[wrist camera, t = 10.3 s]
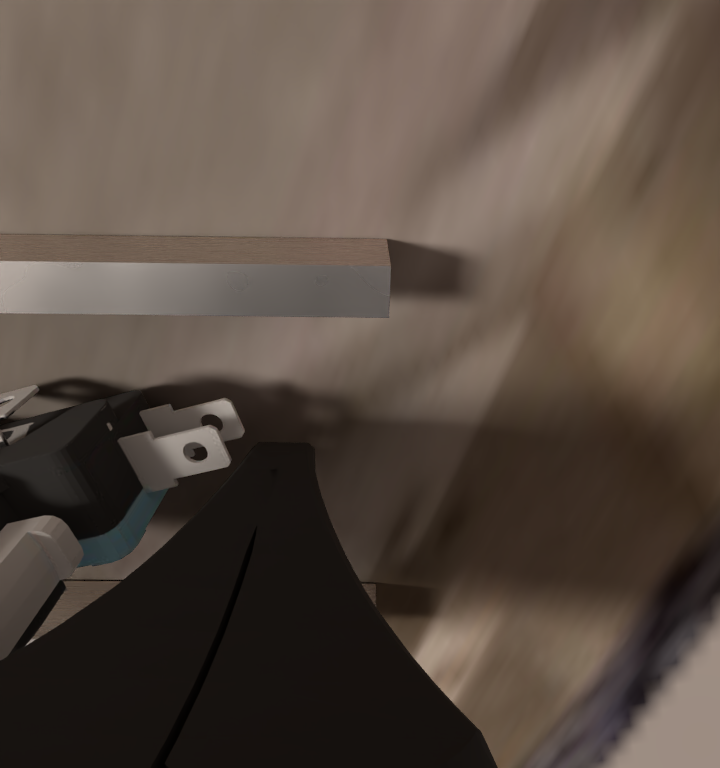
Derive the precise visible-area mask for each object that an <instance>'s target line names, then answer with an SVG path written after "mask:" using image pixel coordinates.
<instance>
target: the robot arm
mask: <svg viewBox="0 0 720 768" xmlns="http://www.w3.org/2000/svg"><path fill="white" fill-rule="evenodd" d="M0 768H498V767H497V765H496V763H495V761H494V759H493V756H492V754H491V752H490V750H489V748H488V745H487V743H486V741H485V739H484V737H483V735H482V733H481V731H480V730H479V729H478V728H477V727H476V726H475V725H474V724H473V723H472V722H471V721H470V720H469V719H468V718H467V717H466V716H465V715H464V714H463V713H462V712H461V711H460V710H459V709H458V708H457V707H456V706H455V705H454V704H453V703H452V701H451V700H450V699H449V698H448V697H447V696H446V695H445V694H444V693H443V692H442V691H441V690H440V688H439V687H438V686H437V685H436V684H435V683H434V682H433V681H432V679H431V678H430V677H429V676H428V675H427V673H426V672H425V671H424V670H423V669H422V668H421V666H420V665H419V664H418V663H417V662H416V660H415V659H414V658H413V657H412V656H411V654H410V653H409V652H408V650H407V649H406V648H405V646H404V645H403V644H402V642H401V641H400V640H399V638H398V637H397V636H396V634H395V633H394V632H393V630H392V629H391V627H390V626H389V625H388V623H387V622H386V621H385V619H384V618H383V617H382V615H381V614H380V612H379V611H378V609H377V608H376V606H375V605H374V603H373V602H372V600H371V598H370V597H369V595H368V594H367V592H366V591H365V589H364V587H363V586H362V584H361V582H360V580H359V579H358V577H357V575H356V573H355V572H354V570H353V568H352V566H351V564H350V562H349V561H348V559H347V557H346V555H345V553H344V551H343V548H342V546H341V544H340V542H339V540H338V538H337V535H336V533H335V531H334V529H333V526H332V524H331V521H330V519H329V516H328V513H327V510H326V508H325V505H324V502H323V499H322V496H321V493H320V490H319V486H318V482H317V478H316V473H315V449H314V448H313V447H312V446H311V445H310V444H309V443H277V442H259V443H258V444H257V445H255V446H254V447H253V448H252V450H251V451H250V452H249V453H248V455H247V456H246V457H245V458H244V460H243V461H242V462H241V463H240V465H239V466H238V467H237V468H236V470H235V471H234V472H233V473H232V474H231V476H230V477H229V478H228V479H227V480H226V481H225V483H224V484H223V485H222V486H221V487H220V488H219V489H218V491H217V492H216V493H215V494H214V495H213V496H212V497H211V498H210V499H209V500H208V502H207V503H206V504H205V505H204V506H203V507H202V508H201V509H200V510H199V511H198V512H197V513H196V514H195V516H194V517H192V518H191V519H190V520H189V521H188V522H187V523H186V524H185V525H184V526H183V527H182V528H181V529H180V530H179V531H178V532H177V533H176V534H175V535H174V536H173V537H172V538H171V539H170V540H169V541H168V542H167V543H166V544H165V545H164V546H163V547H162V548H160V549H159V550H158V551H157V552H156V553H155V554H154V555H153V556H151V557H150V558H149V559H148V560H147V561H146V562H144V563H143V564H142V565H141V566H140V567H139V568H137V569H136V570H135V571H134V572H132V573H131V574H130V575H129V576H127V577H126V578H125V579H124V580H123V581H121V582H120V583H119V584H117V585H116V586H115V587H113V588H112V589H110V590H109V591H108V592H106V593H105V594H103V595H102V596H100V597H99V598H98V599H96V600H95V601H93V602H92V603H90V604H89V605H88V606H86V607H85V608H83V609H82V610H80V611H79V612H77V613H76V614H75V615H73V616H72V617H70V618H69V619H67V620H66V621H65V622H63V623H62V624H60V625H58V626H57V627H55V628H54V629H52V630H51V631H49V632H47V633H46V634H44V635H42V636H41V637H39V638H38V639H36V640H34V641H33V642H31V643H29V644H28V645H26V646H25V647H23V648H21V649H19V650H18V651H16V652H14V653H12V654H11V655H9V656H7V657H6V658H4V659H2V660H0Z"/></svg>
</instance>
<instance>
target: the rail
mask: <svg viewBox="0 0 720 768" xmlns="http://www.w3.org/2000/svg"><path fill="white" fill-rule="evenodd" d="M390 279H391V263H390V257H389V250H388V244H387V239H332V238H254V237H175V236H97V235H19V234H0V313H33V314H116V315H199V316H282V317H365V318H389V306H390ZM120 582H121V581H64V583H65V586H66V588H67V591H65V592H64V593H63V594H62V596H61V597H60V599H59V600H58V602H57V603H56V605H55V606H54V608H53V609H52V611H51V612H50V614H49V615H48V617H47V618H46V620H45V621H44V623H43V624H42V626H41V627H40V628H39V630H38V631H37V632H36V634H35V635H34V636H33V638H32V639H31V640H30V641H29V642H28V643H27V645H28V644H29V643H31V642H33V641H34V640H36V639H38V638H39V637H41V636H42V635H44V634H46V633H47V632H49V631H51V630H52V629H54V628H55V627H57V626H58V625H60V624H62V623H63V622H65V621H66V620H67V619H69V618H70V617H72V616H73V615H75V614H76V613H77V612H79V611H80V610H82V609H83V608H85V607H86V606H88V605H89V604H90V603H92V602H93V601H95V600H96V599H98V598H99V597H100V596H102V595H103V594H105V593H106V592H108V591H109V590H110V589H112V588H113V587H115V586H116V585H117V584H119V583H120ZM362 586H363V587H364V589H365V591H366V592H367V594H368V595H369V597H370V598H371V600H372V602H373V603H374V605H375V606H376V584H362Z"/></svg>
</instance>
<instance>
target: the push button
mask: <svg viewBox="0 0 720 768" xmlns="http://www.w3.org/2000/svg"><path fill="white" fill-rule="evenodd" d="M38 391H39V388H38V387H37V386H36V385H32V386H28V387H24V388H21V389H17V390H13V391H10V392H6V393H2V394H0V404H2V403H4V402H7V401H10V400H12V401H10V402H9V403H7V404H5V405H3V406H1V407H0V420H3V419H6V418H8V417H9V416H10V415H11V414H13V413H14V412H15V411H16V410H17V409H18V408H20V407H21V406H22V405H23V404H24V403H25V402H27V401H28V400H29V399H30V398H31V397H32V396H34V395H35V394H36V393H37V392H38ZM206 414H213V415H216V416H218V417H219V418H220V419H221V421H222V423H223V428H222V430H220V431H218V429H217V428H216V427H214V426H212V425H207V426H203V425H202V423H201V418H202V416H204V415H206ZM244 431H245V429H244V427H243V425H242V423H241V420H240V418H239V416H238V414H237V411H236V409H235V407H234V405H233V403H232V401H231V400H229V399H227V398H223V399H219V400H215V401H211V402H207V403H203V404H199V405H195V406H191V407H187V408H183V409H179V410H175V411H174V410H173V408H172V406H171V404H166V405H162V406H158V407H155V408H151V409H150V408H149V406H148V404H147V402H146V400H145V398H144V396H143V394H142V392H141V391H139V390H136V391H131V392H127V393H123V394H119V395H115V396H111V397H108V398H104V399H99V400H95V401H91V402H87V403H84V404H81V405H77V406H73V407H69V408H65V409H62V410H58V411H54V412H50V413H46V414H42V415H39V416H35V417H31V418H27V419H23V420H19V421H16V422H12V423H8V424H4V425H0V660H2V659H4V658H6V657H7V656H9V655H11V654H12V653H14V652H16V651H18V650H19V649H21V648H23V647H25V646H26V645H27V643H28V642H29V641H30V640H31V639H32V638H33V636H34V635H35V634H36V632H37V631H38V630H39V628H40V627H41V626H42V624H43V623H44V621H45V620H46V618H47V617H48V615H49V614H50V612H51V611H52V609H53V608H54V606H55V605H56V603H57V602H58V600H59V599H60V597H61V596H62V594H63V593H64V592H65V591H67V588H66V586H65V583H64V581H63V579H66V578H68V577H70V576H71V575H72V573H73V572H74V570H75V569H76V568H78V567H83V566H88V565H92V566H97V565H102V564H107V563H111V562H114V561H117V560H120V559H122V558H123V557H125V556H126V555H128V554H129V553H131V552H132V551H133V550H134V549H135V547H136V546H137V545H138V544H139V542H140V540H141V538H142V537H143V535H144V533H145V531H146V530H145V528H146V527H147V525H148V523H149V522H150V520H151V518H152V516H153V515H154V513H155V511H156V509H157V508H158V506H159V504H160V503H161V501H162V499H163V497H164V496H165V494H166V492H167V490H168V489H169V488H172V487H176V486H178V482H177V480H176V479H177V478H181V477H185V476H190V475H194V474H199V473H203V472H208V471H212V470H216V469H221V468H225V467H228V466H229V464H230V462H231V460H232V459H231V456H230V454H229V452H228V450H227V448H226V446H225V444H224V442H225V441H229V440H233V439H237V438H241V437H242V435H243V434H244ZM203 446H204V447H205V448H206V450H207V452H208V457H207V458H206V459H204V460H202V461H196V460H193V459H191V458H190V457H193V456H194V455H195V452H194V450H193V449H195V448H199V447H203Z"/></svg>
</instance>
